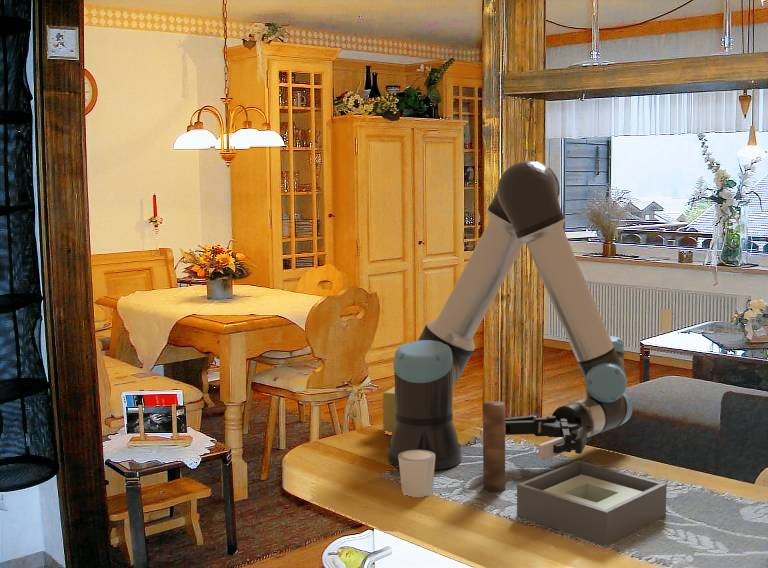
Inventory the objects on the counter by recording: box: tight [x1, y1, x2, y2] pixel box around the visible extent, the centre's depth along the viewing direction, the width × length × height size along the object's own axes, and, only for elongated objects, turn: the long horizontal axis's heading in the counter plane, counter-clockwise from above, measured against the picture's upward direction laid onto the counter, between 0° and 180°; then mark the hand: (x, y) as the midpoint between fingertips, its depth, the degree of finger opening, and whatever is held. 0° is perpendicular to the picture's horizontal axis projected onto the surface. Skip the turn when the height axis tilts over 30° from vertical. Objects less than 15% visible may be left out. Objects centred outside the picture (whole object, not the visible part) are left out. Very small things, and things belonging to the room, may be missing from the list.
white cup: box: [398, 450, 435, 498], centre depth 163 cm, size 7×7×7 cm
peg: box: [482, 400, 506, 493], centre depth 163 cm, size 4×4×16 cm
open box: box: [516, 459, 667, 547], centre depth 150 cm, size 18×18×6 cm
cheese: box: [382, 385, 395, 433], centre depth 201 cm, size 10×11×10 cm
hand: (510, 444), depth 165 cm, fingers open, 13 cm apart
